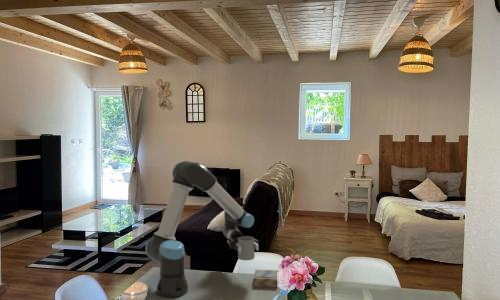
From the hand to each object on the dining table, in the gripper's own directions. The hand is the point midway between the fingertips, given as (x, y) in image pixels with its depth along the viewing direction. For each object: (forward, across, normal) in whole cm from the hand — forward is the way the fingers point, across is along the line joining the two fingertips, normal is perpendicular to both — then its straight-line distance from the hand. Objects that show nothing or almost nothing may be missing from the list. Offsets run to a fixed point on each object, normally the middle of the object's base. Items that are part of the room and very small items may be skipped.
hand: (249, 248), depth 187 cm
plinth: (0, -9, -18) cm, 21 cm away
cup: (-5, 0, -6) cm, 8 cm away
